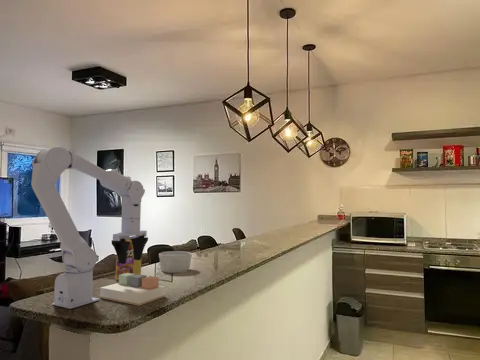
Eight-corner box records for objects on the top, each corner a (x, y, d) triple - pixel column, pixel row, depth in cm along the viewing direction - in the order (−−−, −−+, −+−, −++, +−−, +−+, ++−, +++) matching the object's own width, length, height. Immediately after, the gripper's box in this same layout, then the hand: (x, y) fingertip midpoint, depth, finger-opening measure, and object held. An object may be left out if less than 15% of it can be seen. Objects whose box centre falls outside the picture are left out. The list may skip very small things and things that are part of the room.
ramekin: (194, 267, 154) (195, 251, 154) (187, 274, 141) (187, 256, 141) (164, 267, 155) (164, 250, 155) (154, 273, 142) (154, 255, 142)
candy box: (113, 279, 129) (116, 236, 131) (123, 278, 133) (125, 236, 135) (131, 282, 125) (134, 238, 127) (141, 281, 129) (143, 237, 130)
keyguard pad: (139, 305, 100) (139, 294, 100) (100, 297, 107) (100, 287, 107) (164, 296, 109) (164, 286, 109) (126, 290, 116) (127, 280, 116)
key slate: (138, 289, 108) (138, 277, 108) (129, 287, 109) (130, 276, 109) (146, 286, 111) (146, 275, 111) (138, 285, 112) (138, 274, 112)
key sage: (126, 287, 110) (126, 276, 110) (118, 286, 112) (118, 274, 112) (134, 285, 113) (135, 274, 113) (126, 283, 115) (127, 272, 115)
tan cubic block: (150, 291, 105) (150, 279, 105) (141, 290, 107) (141, 278, 107) (158, 288, 108) (158, 277, 108) (149, 287, 110) (150, 276, 110)
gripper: (127, 219, 107) (125, 266, 106) (154, 217, 121) (153, 258, 120) (107, 219, 110) (106, 264, 109) (136, 217, 123) (136, 257, 122)
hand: (130, 261), depth 115 cm, fingers open, 7 cm apart
